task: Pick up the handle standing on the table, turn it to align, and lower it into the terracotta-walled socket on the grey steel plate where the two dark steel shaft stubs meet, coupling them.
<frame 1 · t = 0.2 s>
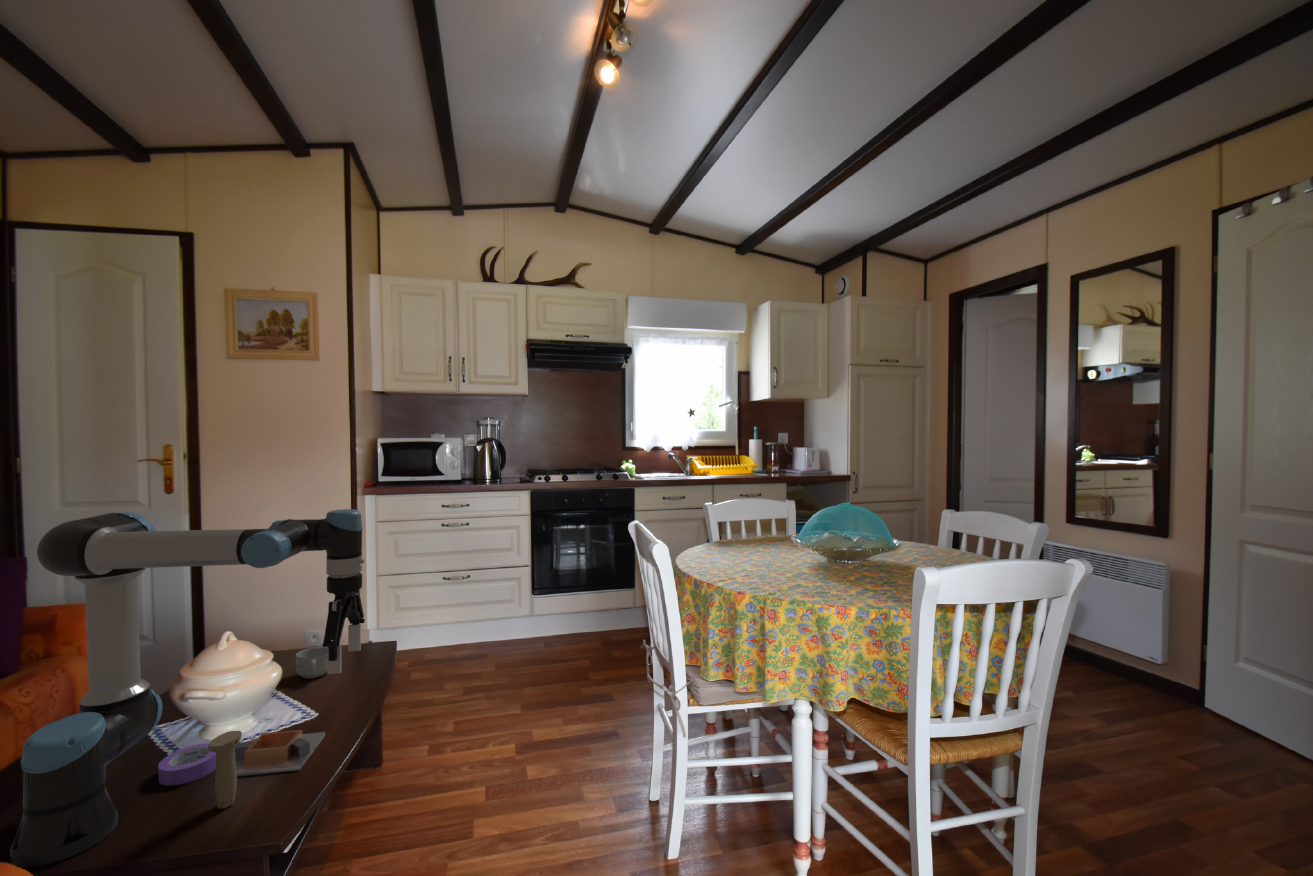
hand: (345, 661, 136), 28 cm above the table, fingers open, 13 cm apart
handle: (226, 805, 125), on the table
masking tape: (190, 772, 138), on the table
coupling base: (274, 755, 144), on the table
teacup: (313, 677, 191), on the table
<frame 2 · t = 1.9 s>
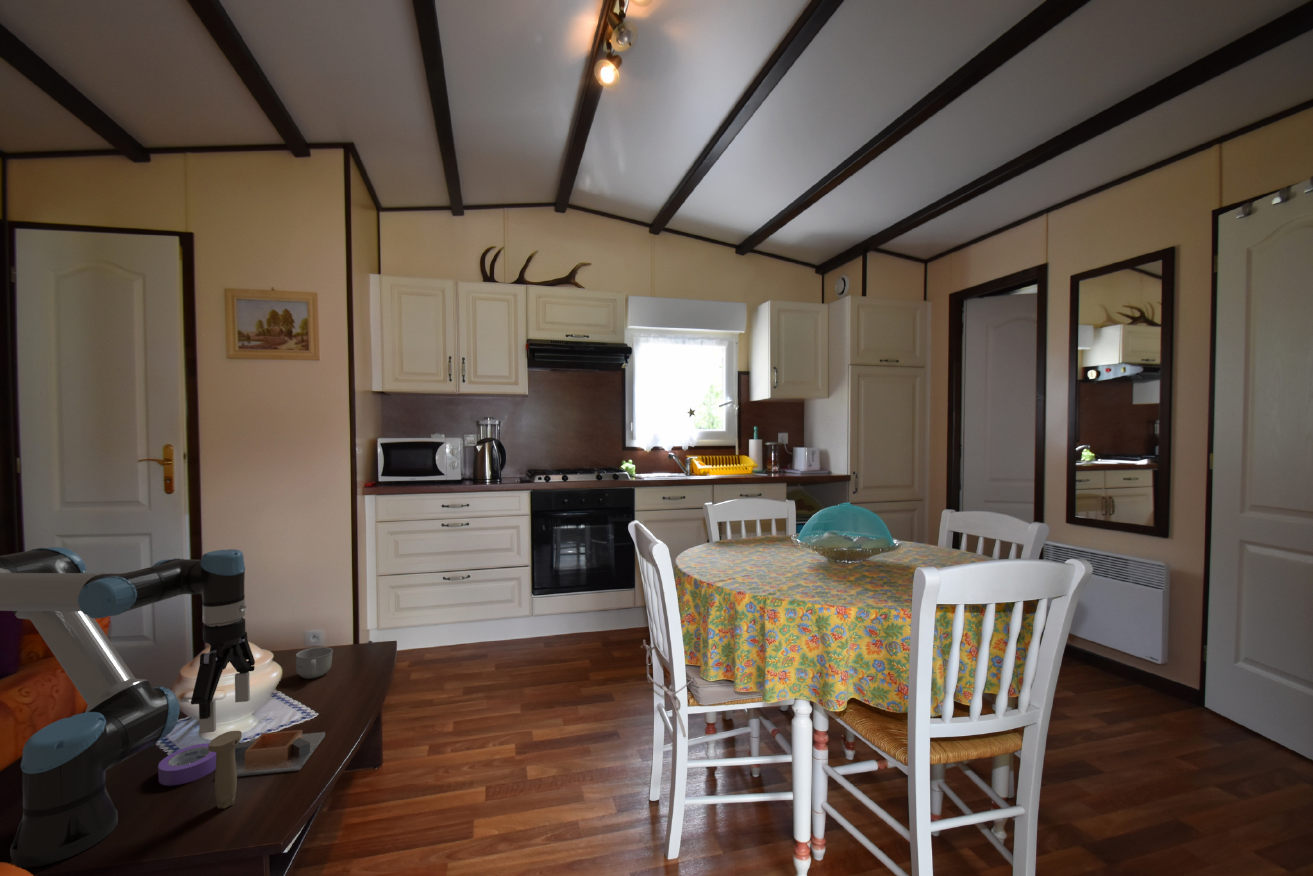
hand: (226, 715, 125), 20 cm above the table, fingers open, 13 cm apart
nothing on the table moved.
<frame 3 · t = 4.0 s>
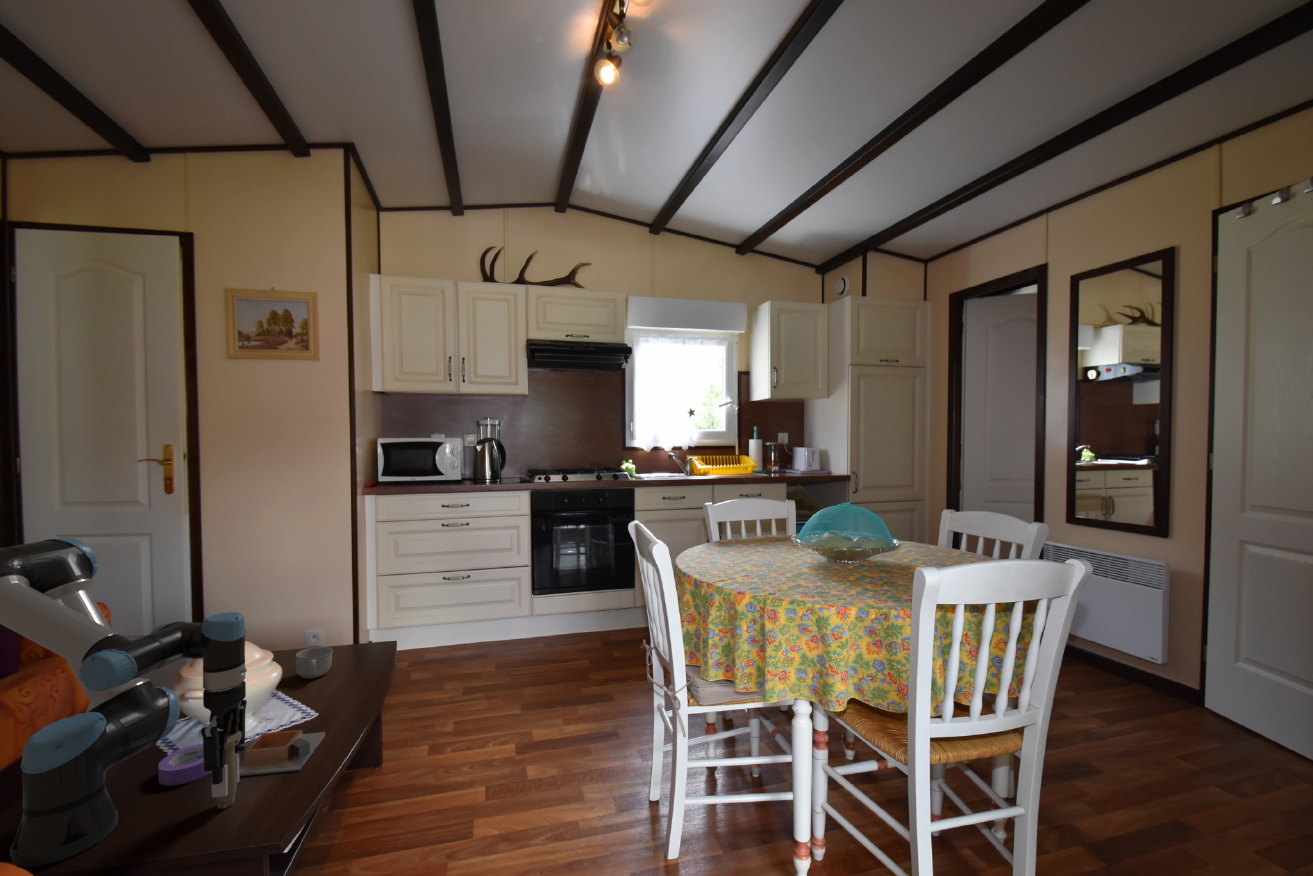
hand: (225, 788, 125), 4 cm above the table, fingers closed on handle, 4 cm apart
handle: (226, 805, 125), on the table, touching gripper
everything else where it was.
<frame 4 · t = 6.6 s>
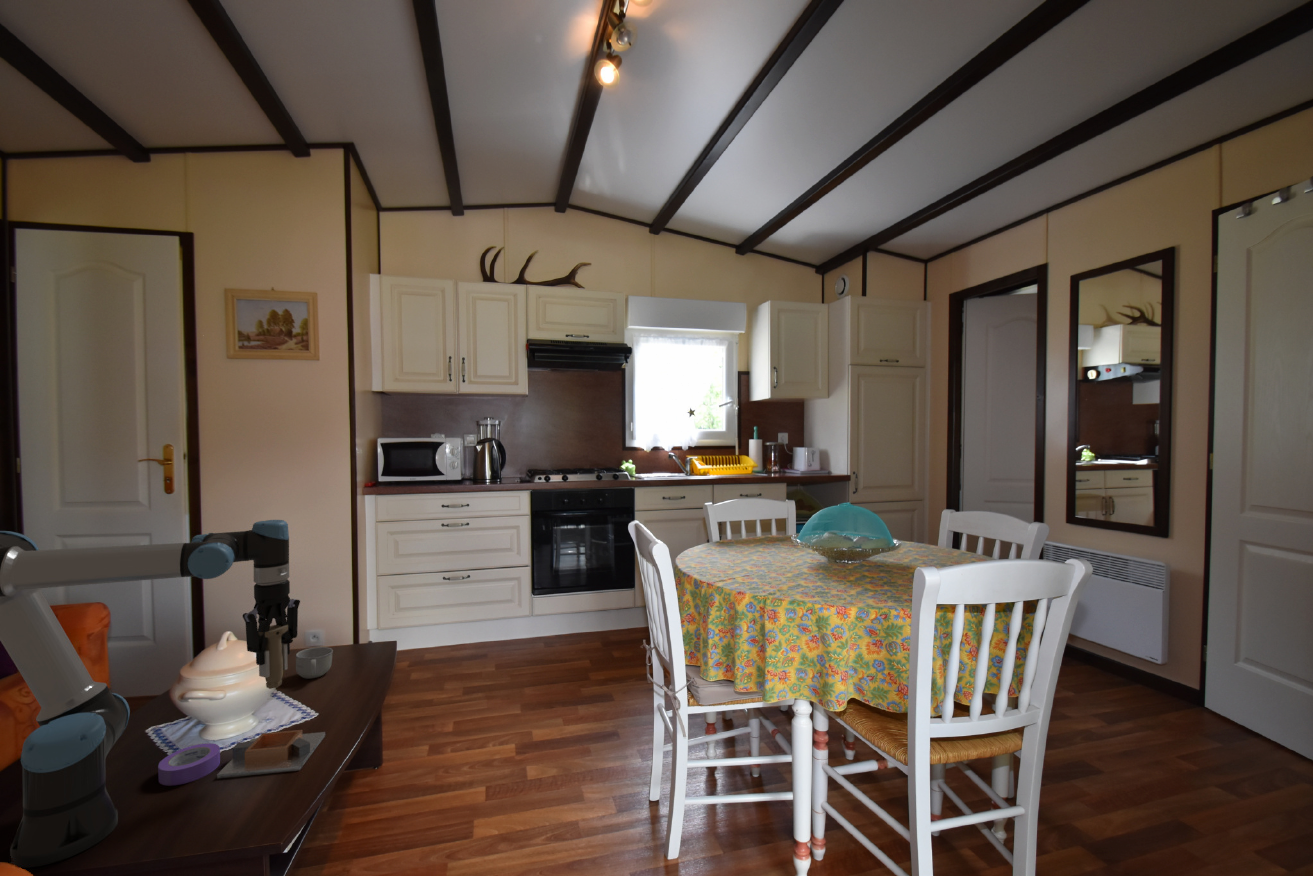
hand: (273, 672, 144), 22 cm above the table, fingers closed on handle, 4 cm apart
handle: (274, 687, 144), point 18 cm above the table, touching gripper
everything else where it was.
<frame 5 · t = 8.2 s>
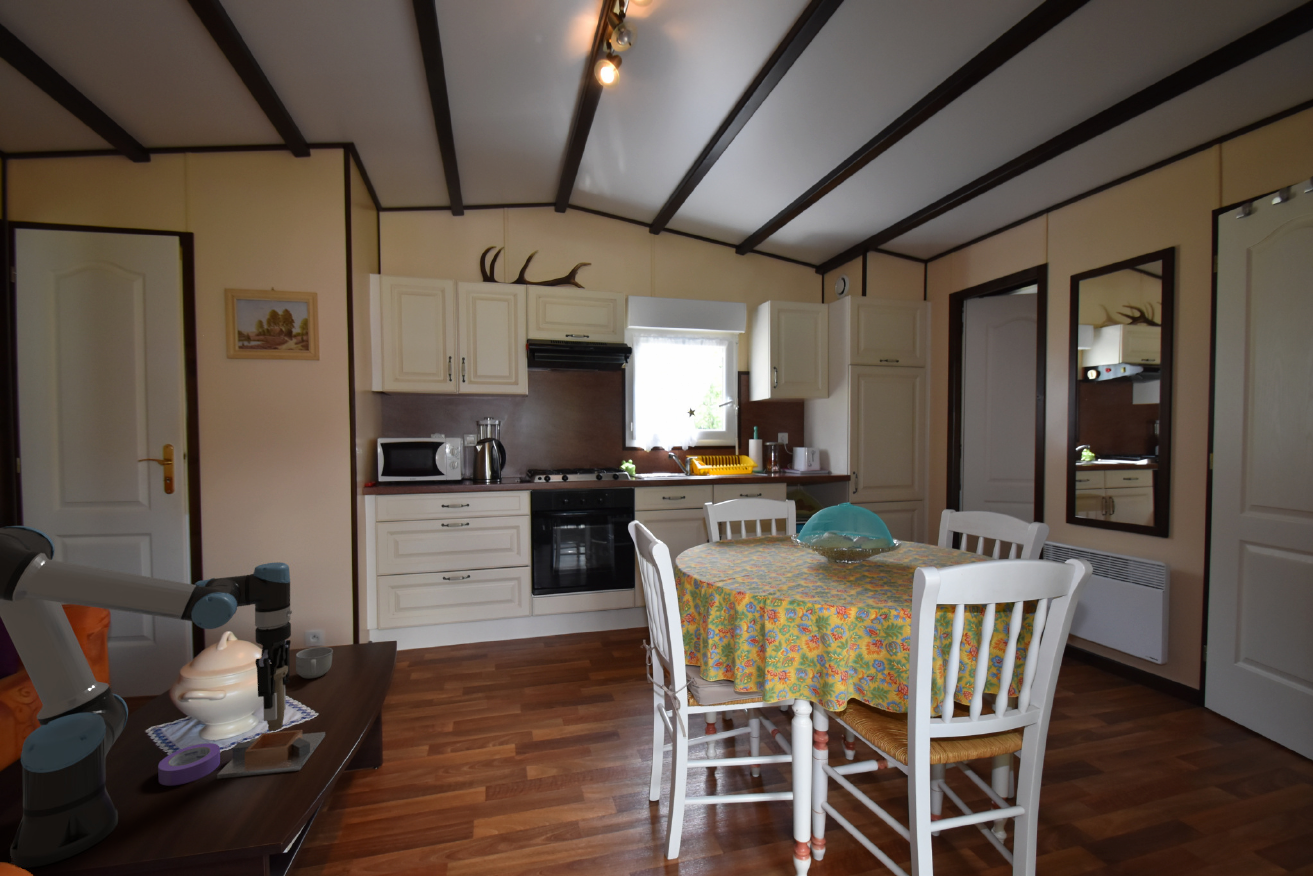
hand: (274, 714, 144), 11 cm above the table, fingers closed on handle, 4 cm apart
handle: (275, 729, 144), point 7 cm above the table, touching gripper
everything else where it was.
when the fingers open (6 cm above the table, at t = 9.2 s): handle drops 1 cm, resting on coupling base.
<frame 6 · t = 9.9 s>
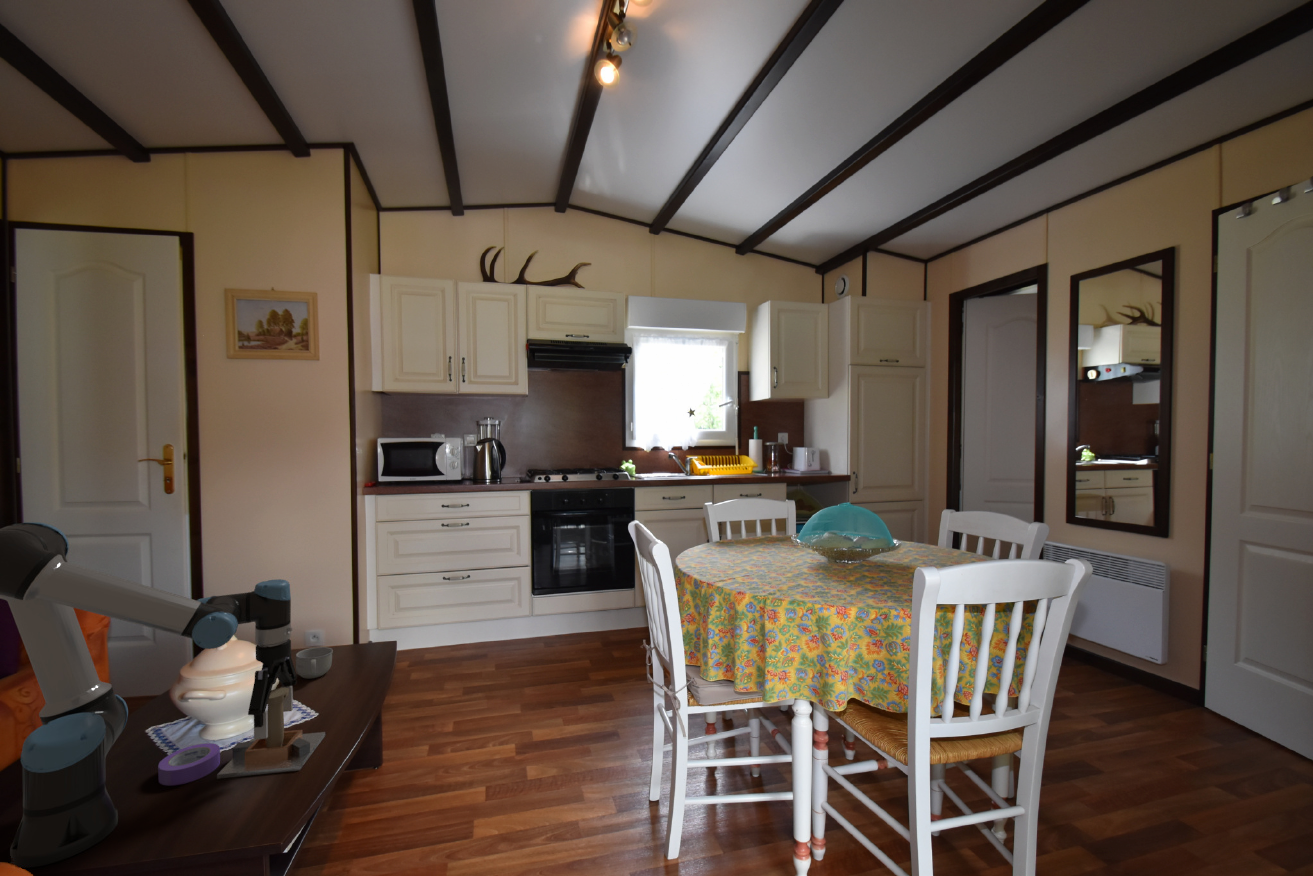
hand: (274, 724, 144), 8 cm above the table, fingers open, 13 cm apart
handle: (274, 752, 144), point 1 cm above the table, touching coupling base
everything else where it was.
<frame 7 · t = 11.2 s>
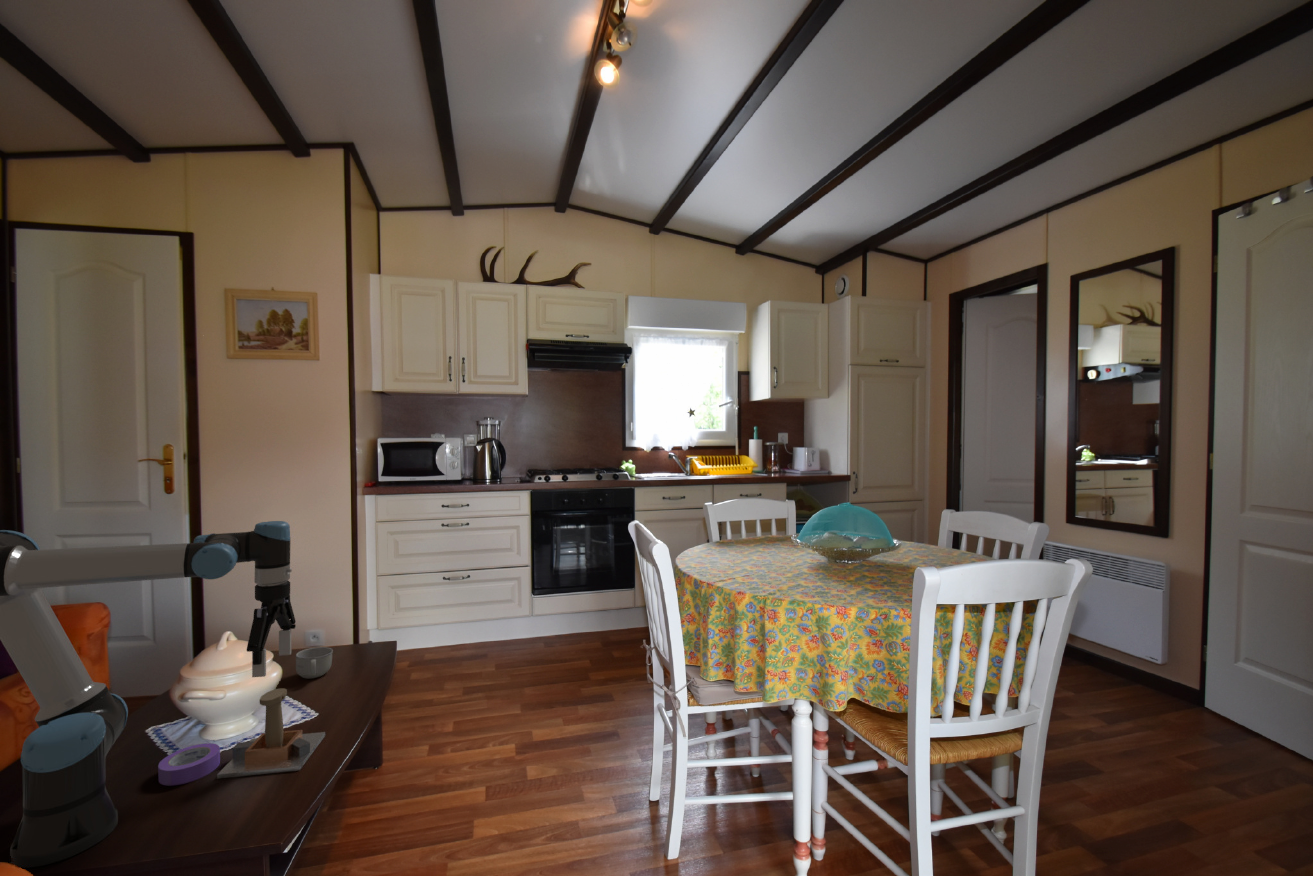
hand: (272, 665, 144), 23 cm above the table, fingers open, 13 cm apart
nothing on the table moved.
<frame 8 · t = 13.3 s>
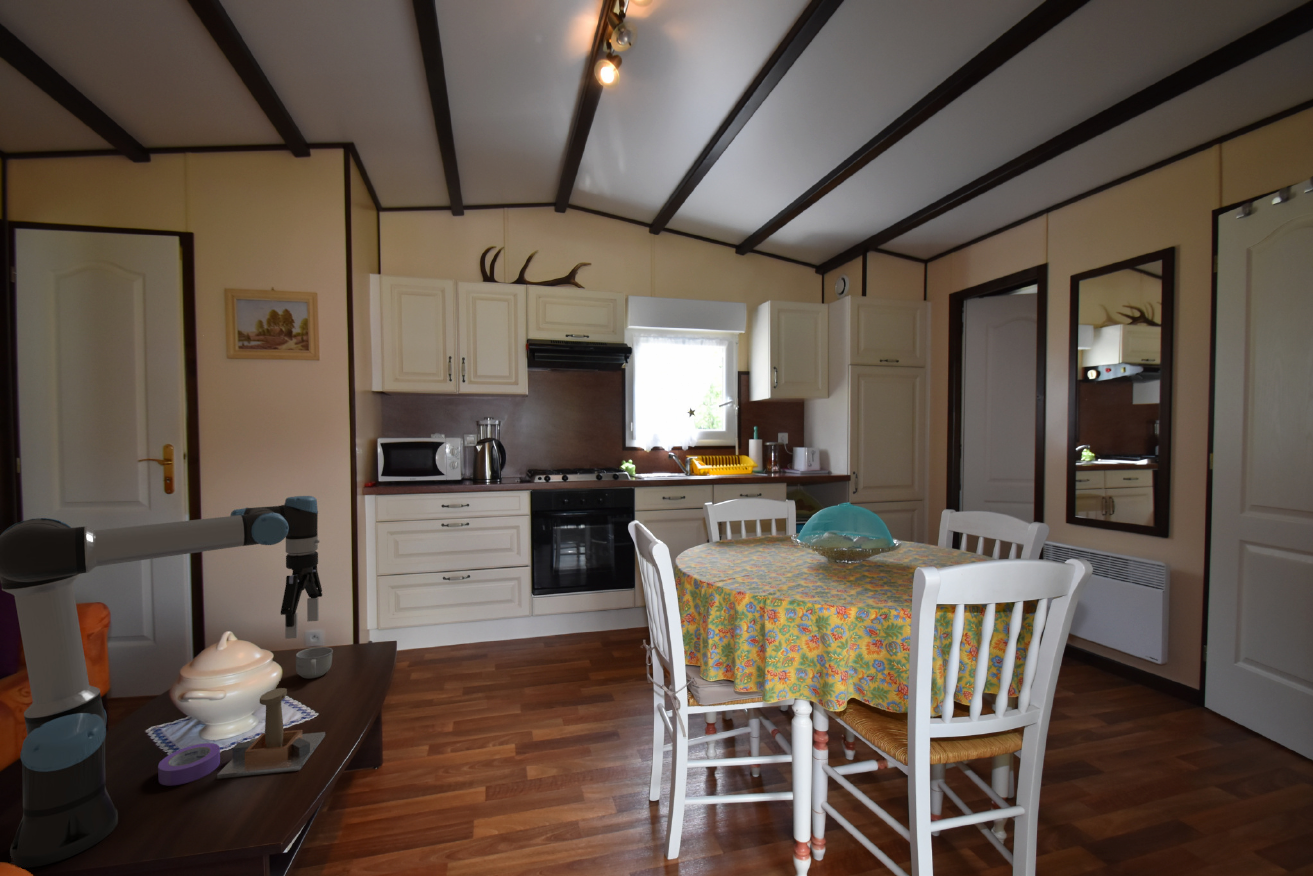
hand: (302, 629, 155), 29 cm above the table, fingers open, 13 cm apart
nothing on the table moved.
at the end: handle inside the target area on the coupling base (0.1 cm from its centre), point 0.8 cm above the coupling base's base; handle tilted 1°; the gripper is holding nothing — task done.
